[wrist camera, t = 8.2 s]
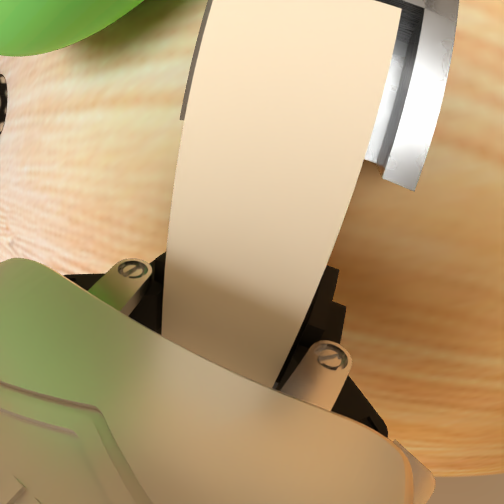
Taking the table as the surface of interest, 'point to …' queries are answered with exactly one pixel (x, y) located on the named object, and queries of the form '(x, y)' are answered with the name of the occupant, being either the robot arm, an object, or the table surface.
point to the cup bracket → (402, 87)
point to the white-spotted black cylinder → (2, 101)
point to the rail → (268, 170)
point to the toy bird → (54, 23)
